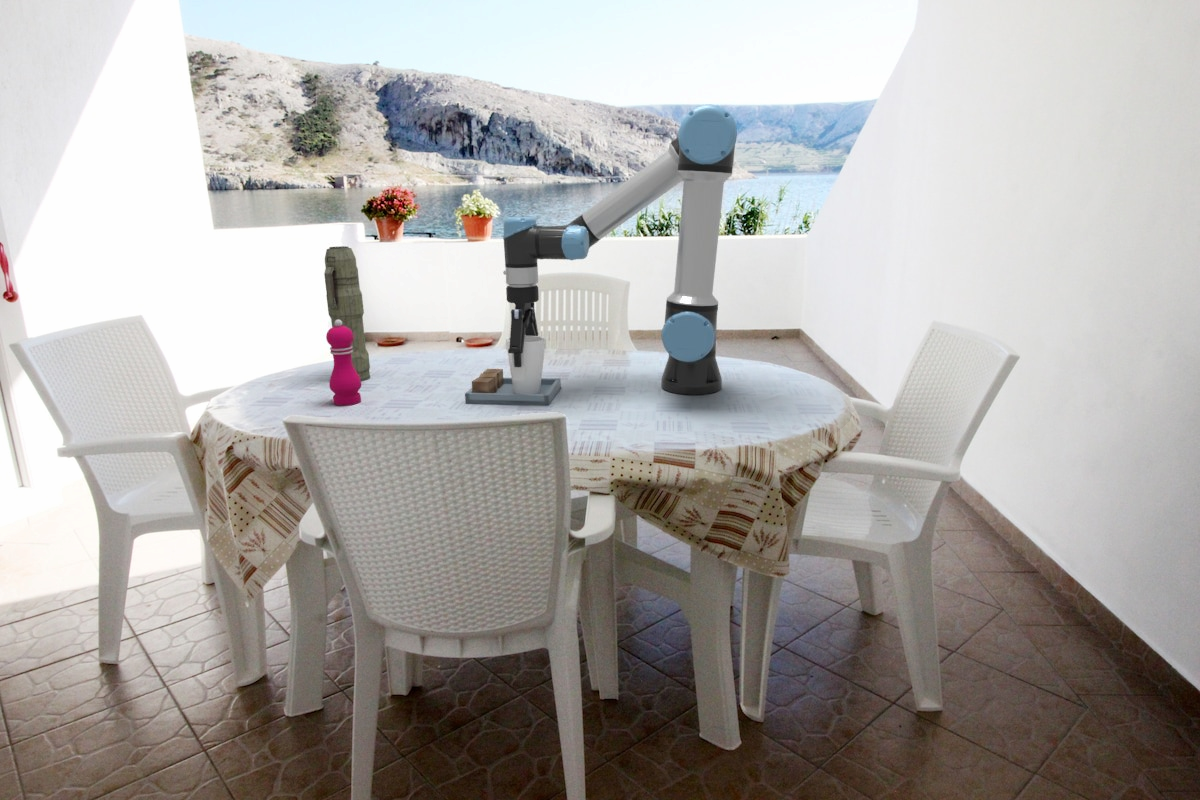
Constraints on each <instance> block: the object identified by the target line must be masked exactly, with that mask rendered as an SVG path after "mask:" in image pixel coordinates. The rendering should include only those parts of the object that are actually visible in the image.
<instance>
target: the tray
mask: <svg viewBox="0 0 1200 800" xmlns="http://www.w3.org/2000/svg"><path fill="white" fill-rule="evenodd" d="M503 383H504V384H503V385H502V386H501V387H500V388H498V390H497V392H496V393H472V387H471V388H470V389H469V390H468V391H467V392H465V393H464V399H465V404H466V405H467V404H469V405H471V404H472V405H473V404H475V405H508V406H511V405H512V406H513V405H516V406H550V404H551V403H552V402H553V400H554V398H555V397H556V395H557V394H558V392H559V391H560V390H561V387H562V385H561V378H553V377H551V378H548V377H546V378H544V377H542V378H541V386H540V392H539V393H536V394H517V393H514V389H513V383H512V377H503Z"/></svg>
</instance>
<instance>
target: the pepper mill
mask: <svg viewBox="0 0 1200 800" xmlns="http://www.w3.org/2000/svg"><path fill="white" fill-rule="evenodd" d="M334 324H335V327H332V326H331V327H330V328H329V329H328V330H327V333H326V339H325V340H326V341H327V344H328V345H330V346H331V347H330V348H329V350H330V354H331V355H332V358H333V368H332V372H331V375H330V378H329V381H328V383H329V384H328V385H329V386H328V387H329V389H330V390H331V392H333V393H334V395H333V396H332V400H333V404H334V405H336V406H343V407H344V406H352V405H356V404H359V403H360V402H361V401H362V396H361V395H362V394H361V393H360V392H359V391H360V389H361V387H362V381H361V380H360V377H359V375H358V373H357V372H356V370H355V368H354V367H353V364H352V360H351V353H352V352H353V350H352V346H351V343H352V342H353V339H354V336H353V333H352V331H351V330H350V329H349V328H348V327H345V326H342V321H341V320H336V321H335V322H334Z"/></svg>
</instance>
